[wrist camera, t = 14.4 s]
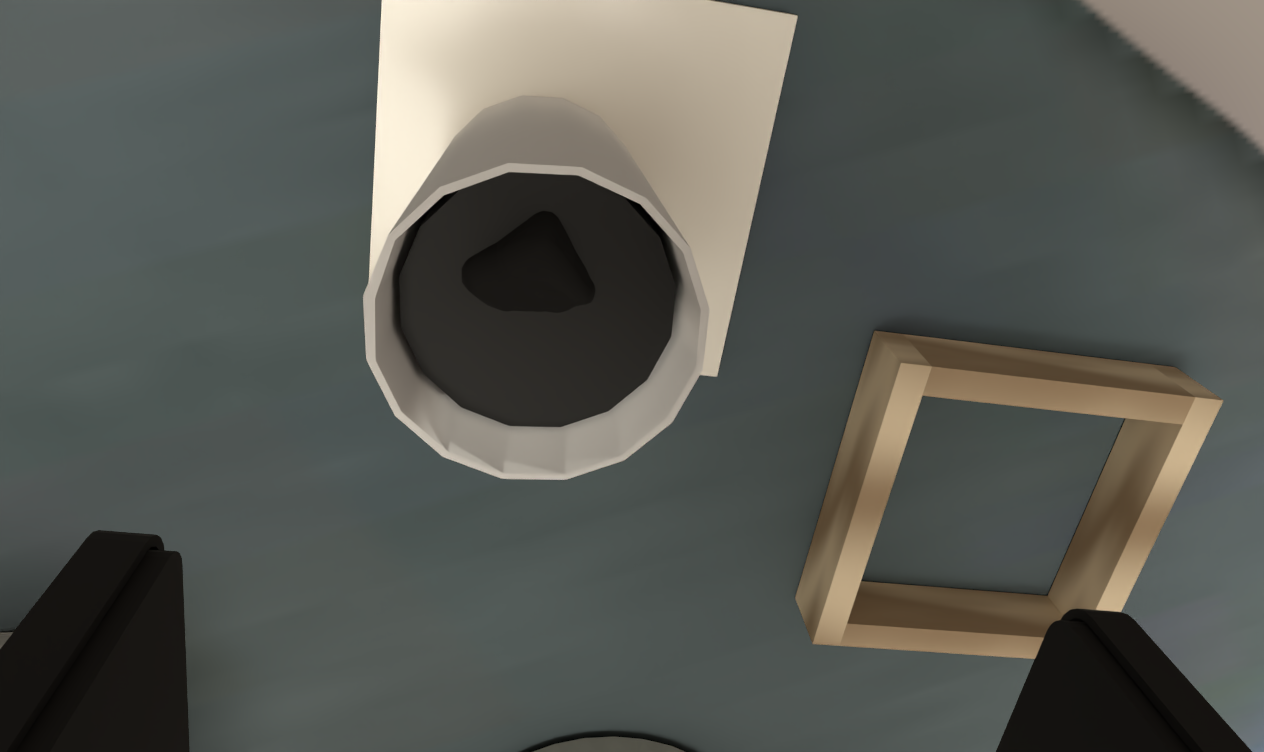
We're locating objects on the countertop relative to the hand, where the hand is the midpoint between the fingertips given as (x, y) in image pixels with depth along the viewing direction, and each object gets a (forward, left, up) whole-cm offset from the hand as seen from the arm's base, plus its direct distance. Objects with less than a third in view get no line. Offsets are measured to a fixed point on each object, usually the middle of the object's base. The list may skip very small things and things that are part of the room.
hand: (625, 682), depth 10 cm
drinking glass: (0, +1, -19) cm, 19 cm away
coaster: (+1, 0, -20) cm, 20 cm away
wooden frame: (-8, -16, -20) cm, 27 cm away
